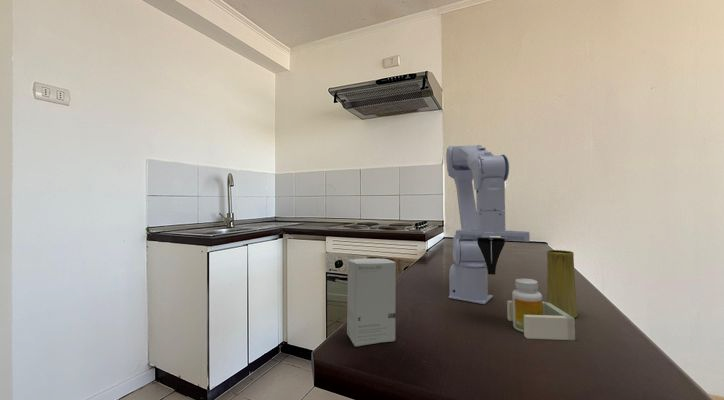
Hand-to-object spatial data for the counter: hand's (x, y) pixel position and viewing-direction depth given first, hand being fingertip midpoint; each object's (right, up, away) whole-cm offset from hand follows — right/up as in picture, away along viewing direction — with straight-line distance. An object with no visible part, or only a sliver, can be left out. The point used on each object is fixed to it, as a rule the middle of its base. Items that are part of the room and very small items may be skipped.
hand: (491, 273), depth 65 cm
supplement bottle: (+5, -10, -4) cm, 12 cm away
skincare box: (-26, -11, -8) cm, 29 cm away
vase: (+18, -10, +4) cm, 21 cm away
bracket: (+8, -10, -4) cm, 13 cm away
